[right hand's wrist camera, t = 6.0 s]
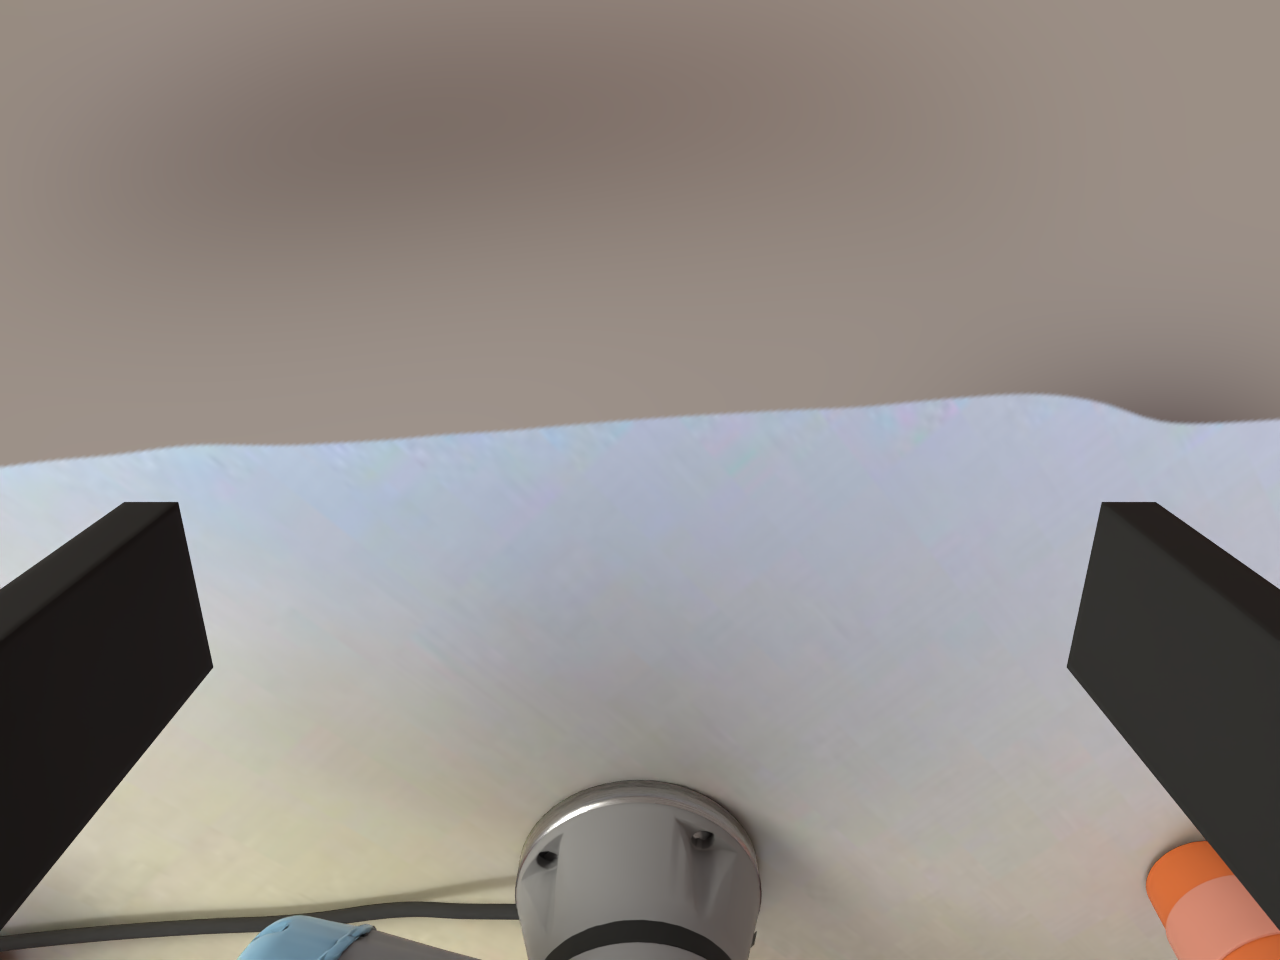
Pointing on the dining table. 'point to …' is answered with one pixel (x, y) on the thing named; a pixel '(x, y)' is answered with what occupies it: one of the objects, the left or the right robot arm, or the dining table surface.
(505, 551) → the dining table surface
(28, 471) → the dining table surface
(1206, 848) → the cup with straw
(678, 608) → the dining table surface
